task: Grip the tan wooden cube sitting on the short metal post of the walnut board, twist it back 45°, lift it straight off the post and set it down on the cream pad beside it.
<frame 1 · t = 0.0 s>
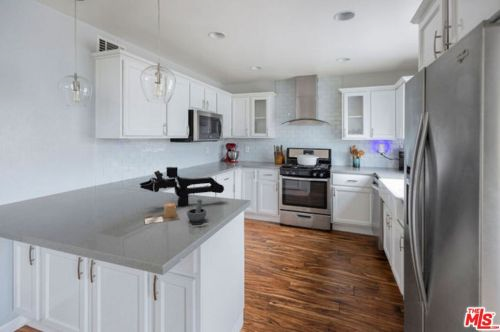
hand: (140, 185, 155), 17 cm above the counter, tool horizontal, fingers open, 9 cm apart
board: (161, 220, 140), on the counter
mortar and pestle: (197, 223, 137), on the counter
tan wooden cube: (170, 215, 145), point 1 cm above the counter, touching board
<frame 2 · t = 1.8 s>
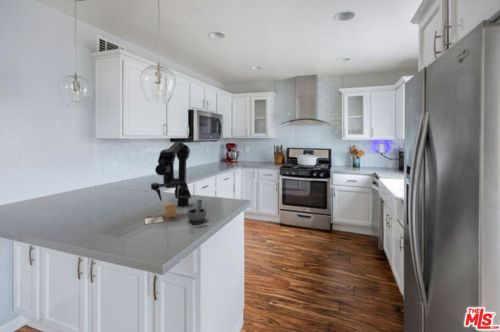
hand: (169, 200, 144), 10 cm above the counter, tool pointing down, fingers open, 9 cm apart
nothing on the counter moved.
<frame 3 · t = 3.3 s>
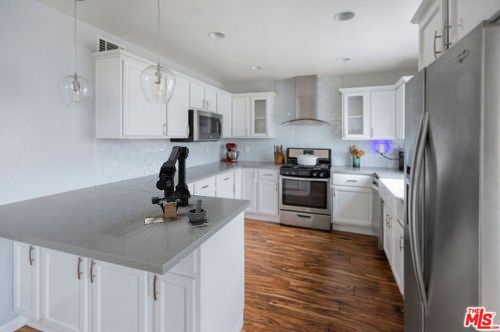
hand: (170, 213, 145), 3 cm above the counter, tool pointing down, fingers closed on tan wooden cube, 6 cm apart
tan wooden cube: (170, 215, 145), point 1 cm above the counter, touching board, gripper
everything else where it was.
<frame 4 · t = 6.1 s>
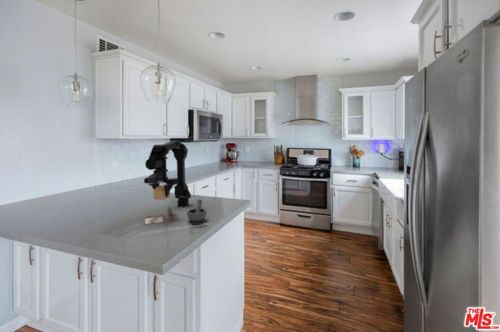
hand: (161, 196, 139), 14 cm above the counter, tool pointing down, fingers closed on tan wooden cube, 6 cm apart
tan wooden cube: (162, 198, 139), point 13 cm above the counter, touching gripper
everything else where it was.
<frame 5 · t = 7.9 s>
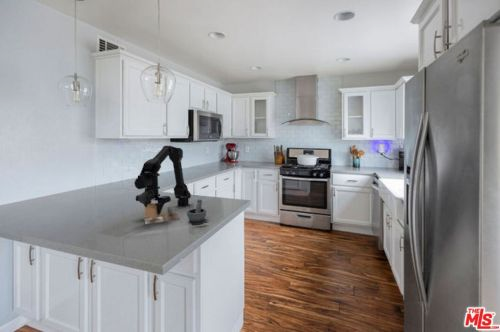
hand: (153, 214, 136), 5 cm above the counter, tool pointing down, fingers closed on tan wooden cube, 6 cm apart
tan wooden cube: (153, 216, 136), point 4 cm above the counter, touching gripper
everything else where it was.
when the fingers open (4 cm above the counter, at t = 9.0 s): tan wooden cube drops 1 cm, resting on board.
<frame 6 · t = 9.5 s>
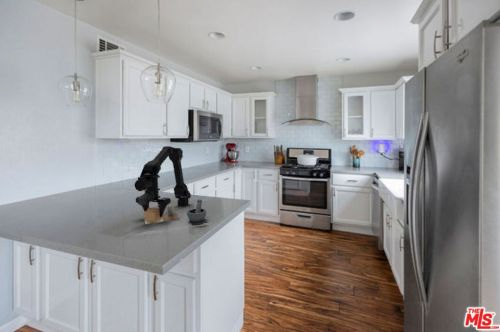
hand: (153, 216, 136), 4 cm above the counter, tool pointing down, fingers open, 9 cm apart
tan wooden cube: (154, 220, 137), point 2 cm above the counter, touching board
everything else where it was.
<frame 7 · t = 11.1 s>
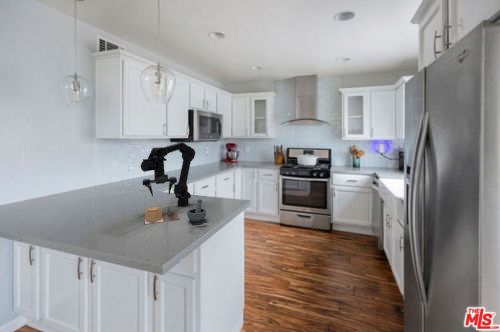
hand: (160, 195, 151), 12 cm above the counter, tool pointing down, fingers open, 9 cm apart
nothing on the counter moved.
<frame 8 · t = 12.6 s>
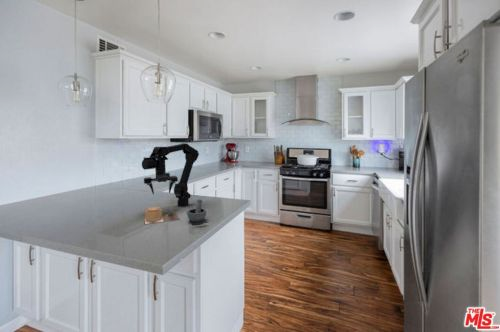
hand: (161, 193, 153), 12 cm above the counter, tool pointing down, fingers open, 9 cm apart
nothing on the counter moved.
at the end: tan wooden cube inside the target area (0.0 cm from its centre), point 1.7 cm above the counter; tan wooden cube tilted 0°; the gripper is holding nothing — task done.
